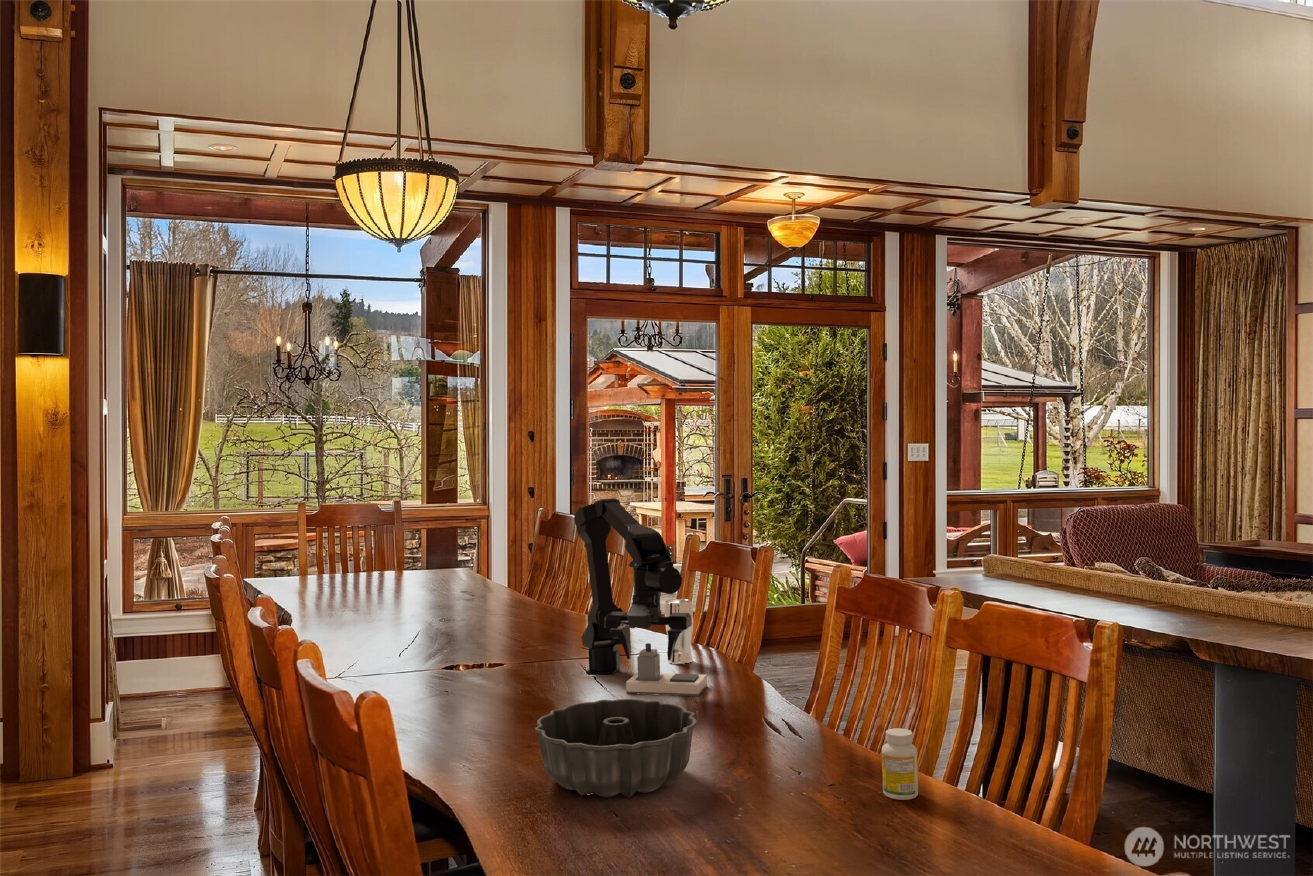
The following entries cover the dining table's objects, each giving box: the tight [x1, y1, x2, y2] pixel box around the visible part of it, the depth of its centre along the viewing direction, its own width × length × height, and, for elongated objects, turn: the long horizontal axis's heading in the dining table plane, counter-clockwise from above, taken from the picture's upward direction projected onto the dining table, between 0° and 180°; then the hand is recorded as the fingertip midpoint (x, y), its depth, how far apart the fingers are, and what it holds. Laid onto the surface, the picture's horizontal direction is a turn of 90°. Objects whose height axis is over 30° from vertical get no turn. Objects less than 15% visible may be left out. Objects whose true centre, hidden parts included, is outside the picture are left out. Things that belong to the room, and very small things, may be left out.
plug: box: [636, 642, 661, 681], centre depth 227 cm, size 4×4×10 cm
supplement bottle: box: [881, 727, 919, 801], centre depth 158 cm, size 5×5×10 cm
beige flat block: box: [625, 672, 708, 697], centre depth 226 cm, size 16×9×3 cm, turn 75°
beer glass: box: [664, 598, 694, 665], centre depth 253 cm, size 7×7×15 cm
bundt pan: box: [534, 698, 697, 798], centre depth 168 cm, size 26×26×10 cm
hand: (649, 659), depth 227 cm, fingers open, 9 cm apart
